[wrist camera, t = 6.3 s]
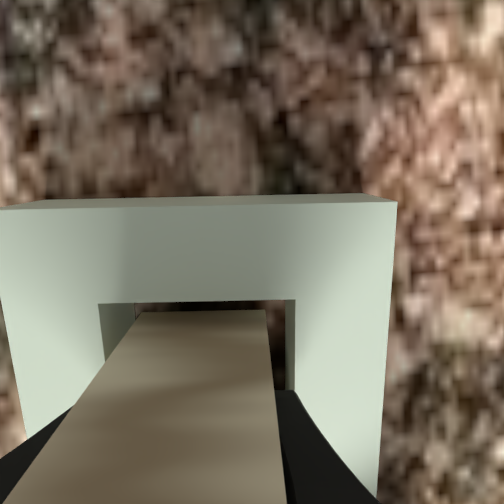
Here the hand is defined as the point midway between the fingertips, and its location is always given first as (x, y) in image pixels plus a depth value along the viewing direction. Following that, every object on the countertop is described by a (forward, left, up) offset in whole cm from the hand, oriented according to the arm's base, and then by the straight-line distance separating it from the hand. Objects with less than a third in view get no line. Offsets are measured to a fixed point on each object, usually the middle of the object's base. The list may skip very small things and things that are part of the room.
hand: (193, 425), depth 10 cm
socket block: (0, 0, -5) cm, 5 cm away
